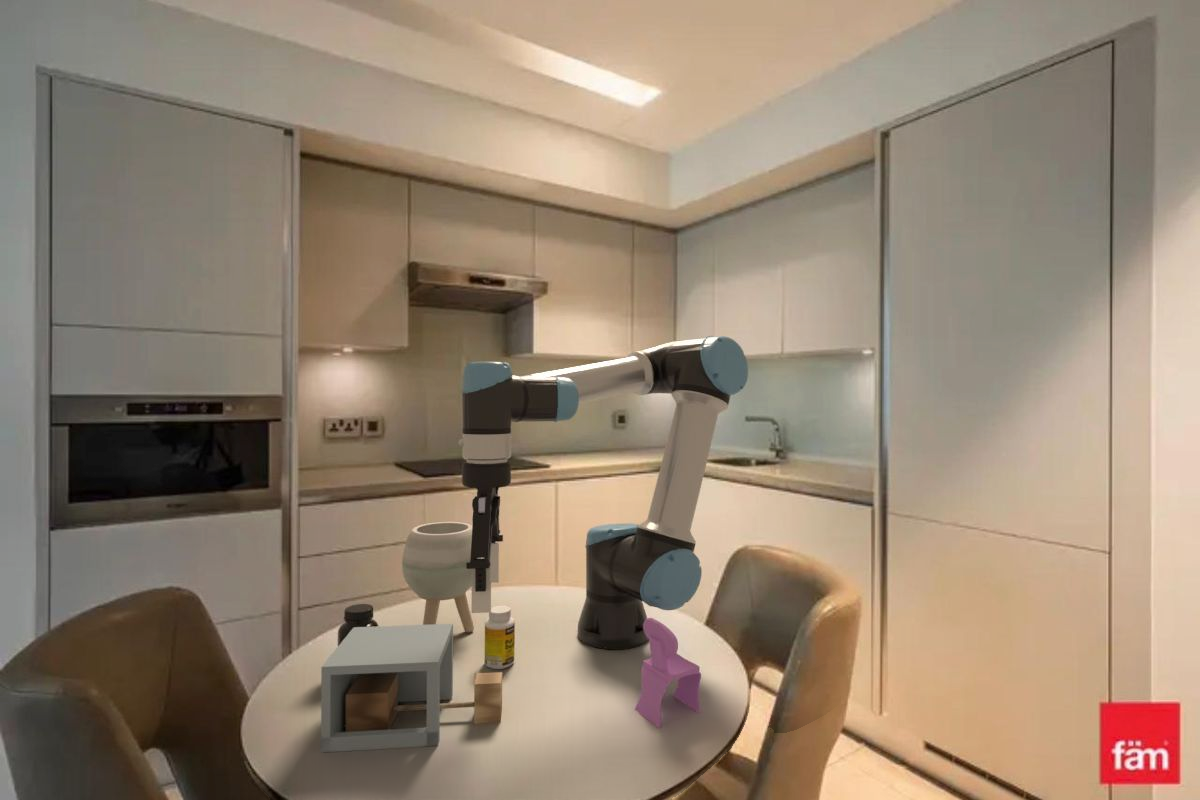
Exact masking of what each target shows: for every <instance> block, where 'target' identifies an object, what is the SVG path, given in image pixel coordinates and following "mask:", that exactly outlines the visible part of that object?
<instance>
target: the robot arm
mask: <svg viewBox="0 0 1200 800" xmlns="http://www.w3.org/2000/svg"><path fill="white" fill-rule="evenodd" d="M748 377H749V365H748V360H747V357H746V355H745V353H744V350H743V348H742V347H741V345H740V344H739V343H738V341H736V340H734V339H733V338H732V337H729V336H723V335H721V336H714V335H709V336H706V337H700V338H692V339H683V340H673V341H670V342H666V343H662V344H659V345H656V346H654V347H650V348H645V349H643V350H637V351H632V352H630V353H629V354H628V355H627V357H624V358H617V359H613V360H606V361H601V362H595V363H589V364H583V365H578V366H577V365H576V366H571V367H567V368H566V367H565V368H561V369H555V370H548V371H544V372H543V371H542V372H536V373H532V374H531V373H530V374H528V375H513V372H512V365H510V364H509V363H508V362H501V361H470V362H468V363H466V365H464V368H463V374H462V381H461V391H460V392H461V394H462V395H461V397H462V398H461V399H462V400H461V404H462V405H461V407H462V410H461V411H462V432H461V433H462V439H459V440H458V445H459V446H463V447H462V458H463V459H464V460H466V461H464V462H463V464H461V483H462V485H463V486H464V487H465V488H469V489H476V496H474V497H473V499H472V503H471V507H472V542H471V558H470V562H469V563H466V568H467V569H472V586H471V614H483V613H485V614H487V613H488V614H489V612H491V608H492V583H493V584H494V583H499V581H500V578H499V577H500V575H499V574H500V570H499V569H500V567H499V566H500V564H499V563H500V542H501V543H502V542H503V541H504V535H503V534H501V530H500V505H501V496H500V495H499V488H503V487H504V488H506V487H507V486H509V485H510V484H511V481H512V474H511V473H512V463H510V461H508V459H511V457H512V423H519V422H524V423H525V422H528V423H529V422H531V423H533V422H535V423H536V422H539V423H540V422H553V423H557V422H564V421H569V420H571V419H572V418H574V416H575V415H576V414H577V413H578V412H577V411H578V409H579V405H581V404H586V403H590V402H595V401H601V400H605V399H610V398H614V397H618V396H623V395H627V394H633V393H634V394H635V395H637V396H645V395H650V394H671V397H672V398H673V400H674V401H675V404H676V406H675V409H674V412H673V417H672V421H671V423H670V424H671V425H670V429H669V432H668V436H667V440H666V444H665V447H664V448H665V449H664V452H663V456H662V460H661V465H660V469H659V472H658V476H657V480H656V483H655V488H654V491H653V496H652V500H651V503H650V508H649V512H648V516H647V519H646V520H645V521H643V522H641V523H640V524H638V523H610V524H609V523H608V524H601V525H597V526H593V527H591V528H589V530H588V531H587V533H586V542H585V551H586V553H585V554H586V555H585V558H586V559H585V560H586V562H585V565H586V566H585V568H586V570H585V572H586V574H585V577H586V578H585V581H586V583H585V584H586V585H585V588H586V589H585V592H586V593H585V599H584V600H585V601H584V603H583V607H582V609H581V613H580V615H579V620H578V622H577V637H578V639H579V640H580V641H581V642H582V643H584V644H586V645H587V646H591V647H594V648H598V649H605V650H625V649H630V648H635V647H639V646H641V645H643V644H645V643H646V642H647V641H648V640H649V639H648V637H647V636H646V635H645V633H644V630H643V624H644V621H645V620H646V619H647V618H648V616H647V613H646V609H645V606H644V604H646V606H649V607H652V608H653V607H654V608H656V609H660V610H662V611H663V610H664V611H675V610H677V609H680V608H683V607H684V605H685V604H686V603H688V602H690V601H691V600H692V598H693V597H694V596H695V594H696V592H697V590H698V588H699V587H700V584H701V580H702V573H703V572H702V566H701V565H700V564H701V561H700V559H699V557H698V556H697V555H696V554H695V547H696V545H697V544H696V543H697V542H696V540H695V538H694V536H693V534H692V532H691V530H692V526H693V521H694V518H695V517H694V516H695V512H696V510H697V509H696V508H697V506H698V505H697V504H698V501H699V496H700V492H701V488H702V483H703V479H704V475H705V471H706V467H707V464H708V463H707V462H708V458H709V456H710V455H709V454H710V451H711V446H712V441H713V438H714V433H715V429H716V425H717V421H718V417H719V414H720V413H722V412H724V411H725V410H727V409H728V408H729V404H730V401H731V400H730V399H731V396H733V395H736V394H738V393H740V392H741V390H743V389H744V388H745V386H746V384H747V381H748ZM477 558H481V559H477Z"/></svg>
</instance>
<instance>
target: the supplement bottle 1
mask: <svg viewBox="0 0 1200 800" xmlns="http://www.w3.org/2000/svg"><path fill="white" fill-rule="evenodd" d="M343 614H344V616H343V621H344V622H343V623H342V624H341V625H340V626H339V627H338V630H337V647H338V646H339V645H340V644H341V642H342V641H343V640H344V639H345V637H346V636H347V635H348V634H349V632H350V631H351V630H352V629H353V628H354V627H376V626H379V623H378V622H377V621H376V620H375V619H373V618H374V606H373V605H372V604H368V603H359V604H352V605H350V606H347V607H346V608H344V613H343ZM337 647H336V648H337Z"/></svg>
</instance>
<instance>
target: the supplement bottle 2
mask: <svg viewBox="0 0 1200 800" xmlns="http://www.w3.org/2000/svg"><path fill="white" fill-rule="evenodd" d="M511 611H512V610H511V607H509V606H507V605H496V606H493V607H492V606H491V612H489V613H488V618H487V619H486V620H485V622H484V665H485V666H486V667H488V668H489V669H493V670H501V669H507V668H509V667H511V666H512V665H513V664H514V662H515V644H516V643H515V642H516V641H515V633H516V631H515V626H516V625H515V624H516V621H515V618H513V617H512V616H511V615H512V612H511Z"/></svg>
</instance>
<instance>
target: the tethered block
mask: <svg viewBox="0 0 1200 800" xmlns="http://www.w3.org/2000/svg"><path fill="white" fill-rule="evenodd" d="M473 686H474V687H473V689H474V691H473V692H474V694H473V695H474V696H473V699H474V700H473V701H469V702H468V701H467V702H446V703H440V709H441V710H442V709H460V708H473V711H474V712H473V717H474V718H473V722H474V724H488V723H489V724H490V723H502V722H501V721H502V716H503V715H502V714H503V672H501V671H499V672H478V673H476V675H475V680H474V684H473ZM398 703H399V702H398V673H396V674H374V675H358V677H357V678H356V680H355V681H354V683H353V684H352V686H351V687H350V689H349V690H348V692H347V694H346V726H345V732H355V731H373V730H391V726H392V725H393V722H394V720H395V718H396V716H397V714H398V712H402V711H403V712H404V711H421V710H425V711H427V703H426V704H406V705H398Z"/></svg>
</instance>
